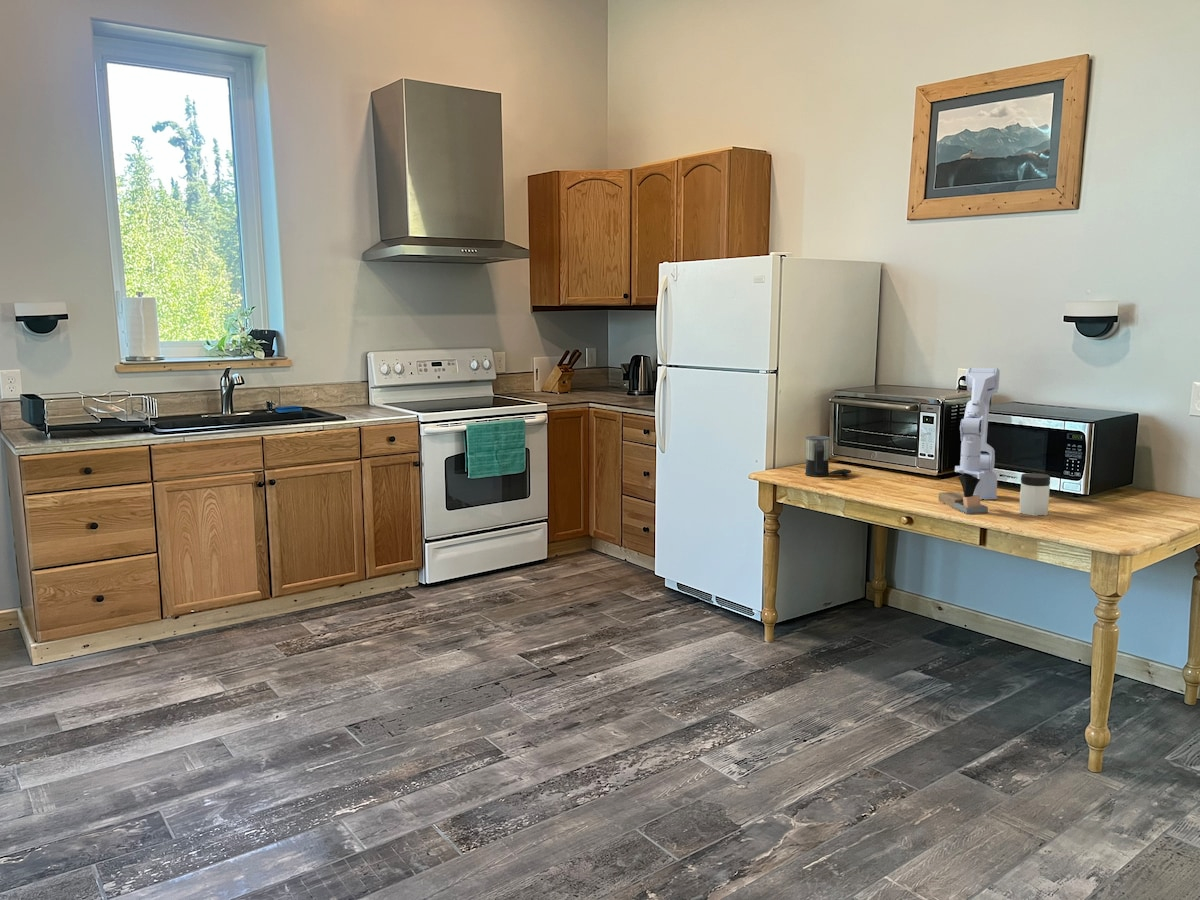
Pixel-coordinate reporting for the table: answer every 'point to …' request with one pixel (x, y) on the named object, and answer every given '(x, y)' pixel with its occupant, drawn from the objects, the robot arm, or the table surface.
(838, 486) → the table surface
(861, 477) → the table surface
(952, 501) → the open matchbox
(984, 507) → the tray
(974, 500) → the peach flat square block
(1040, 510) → the jar
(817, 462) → the milk frother
